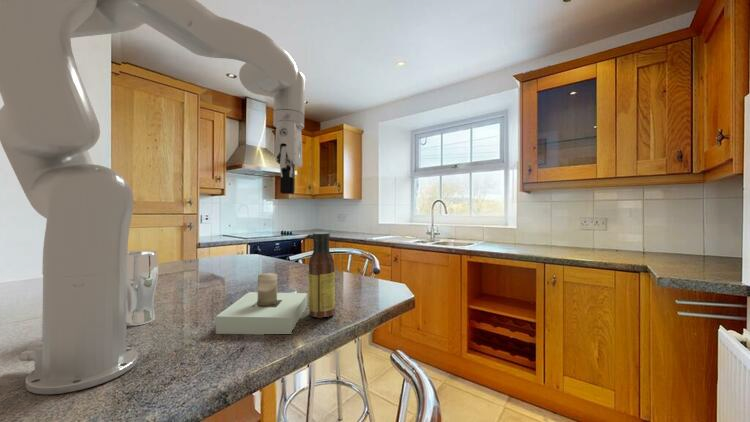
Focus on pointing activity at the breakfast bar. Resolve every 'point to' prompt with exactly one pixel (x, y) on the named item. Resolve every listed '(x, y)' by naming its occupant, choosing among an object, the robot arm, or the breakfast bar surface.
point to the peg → (267, 290)
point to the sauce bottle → (321, 277)
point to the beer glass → (141, 286)
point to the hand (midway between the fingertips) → (287, 193)
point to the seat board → (262, 315)
